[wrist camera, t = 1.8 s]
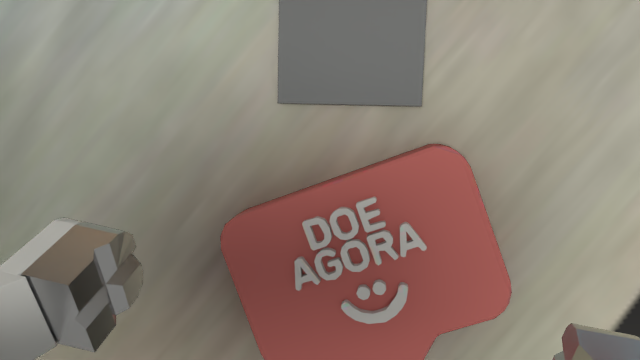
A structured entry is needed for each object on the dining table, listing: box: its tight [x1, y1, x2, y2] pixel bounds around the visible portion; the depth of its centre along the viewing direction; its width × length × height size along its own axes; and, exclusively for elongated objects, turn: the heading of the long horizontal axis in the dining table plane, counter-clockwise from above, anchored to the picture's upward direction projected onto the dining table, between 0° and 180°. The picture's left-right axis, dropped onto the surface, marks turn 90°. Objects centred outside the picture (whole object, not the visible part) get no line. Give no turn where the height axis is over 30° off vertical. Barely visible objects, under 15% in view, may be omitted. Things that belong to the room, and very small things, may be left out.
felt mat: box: [278, 0, 427, 106], centre depth 34 cm, size 10×8×1 cm
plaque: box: [221, 144, 512, 360], centre depth 35 cm, size 18×4×15 cm
